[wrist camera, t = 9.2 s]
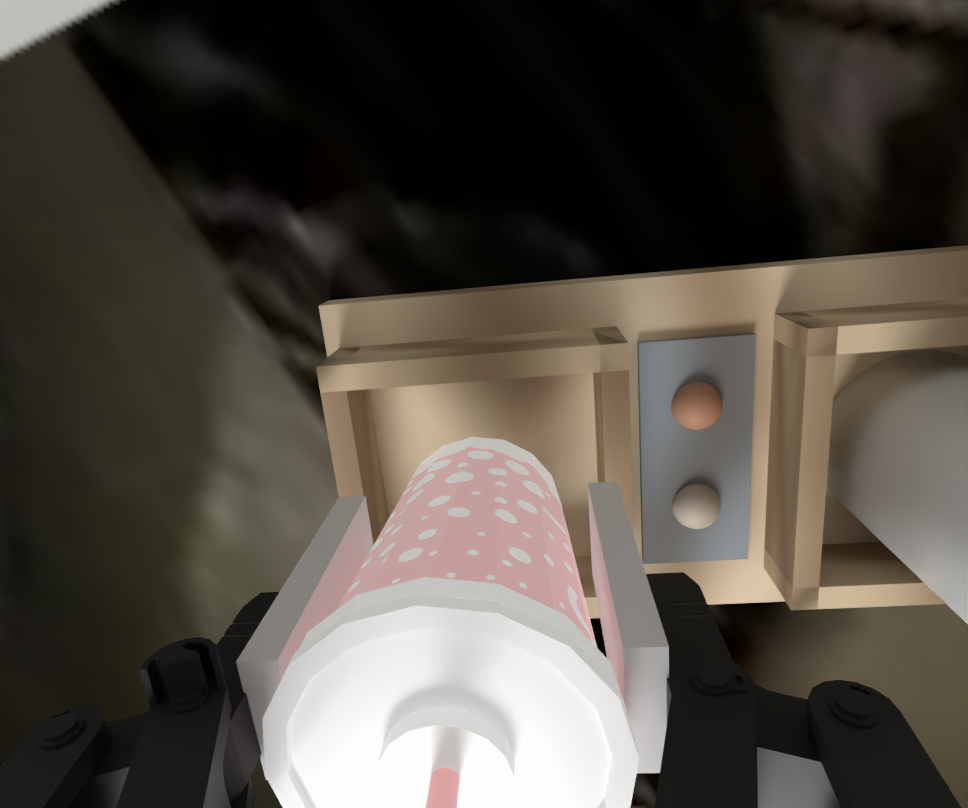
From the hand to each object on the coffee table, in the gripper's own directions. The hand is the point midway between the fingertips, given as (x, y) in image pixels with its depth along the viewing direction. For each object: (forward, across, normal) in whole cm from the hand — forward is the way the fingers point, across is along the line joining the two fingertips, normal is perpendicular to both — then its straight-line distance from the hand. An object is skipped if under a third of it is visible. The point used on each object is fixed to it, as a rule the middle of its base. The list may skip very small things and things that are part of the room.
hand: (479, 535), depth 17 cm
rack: (+6, +7, 0) cm, 9 cm away
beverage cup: (+2, 0, 0) cm, 2 cm away
